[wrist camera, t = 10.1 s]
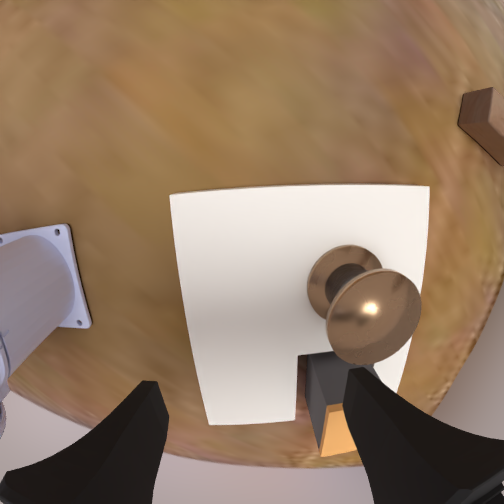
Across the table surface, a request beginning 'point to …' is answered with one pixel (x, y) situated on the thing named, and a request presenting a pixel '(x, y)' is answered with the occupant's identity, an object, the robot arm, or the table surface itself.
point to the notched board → (279, 281)
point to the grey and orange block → (329, 401)
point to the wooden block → (485, 120)
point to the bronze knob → (363, 304)
